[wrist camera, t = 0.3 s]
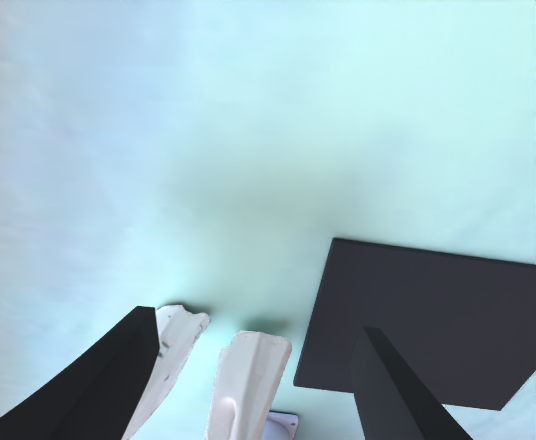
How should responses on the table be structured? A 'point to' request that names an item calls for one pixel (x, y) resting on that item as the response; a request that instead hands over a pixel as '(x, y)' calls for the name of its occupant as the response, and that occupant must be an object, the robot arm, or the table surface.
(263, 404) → the shaker set
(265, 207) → the table surface
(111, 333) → the robot arm
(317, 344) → the placemat
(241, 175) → the table surface
